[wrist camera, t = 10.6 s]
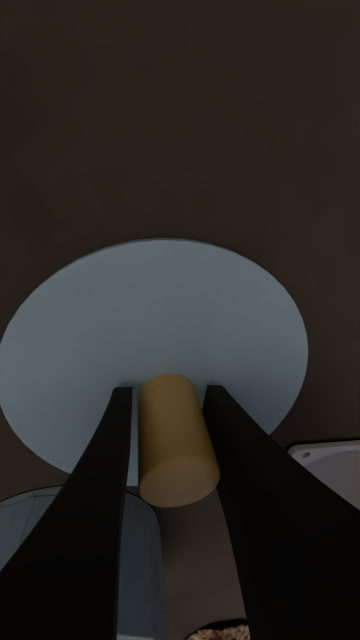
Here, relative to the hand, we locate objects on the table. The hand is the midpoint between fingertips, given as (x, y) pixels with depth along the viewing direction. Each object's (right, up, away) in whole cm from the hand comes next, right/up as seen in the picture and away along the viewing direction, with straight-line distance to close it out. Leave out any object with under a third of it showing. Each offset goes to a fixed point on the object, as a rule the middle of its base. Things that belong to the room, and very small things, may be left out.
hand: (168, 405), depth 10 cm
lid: (0, 0, +1) cm, 1 cm away
